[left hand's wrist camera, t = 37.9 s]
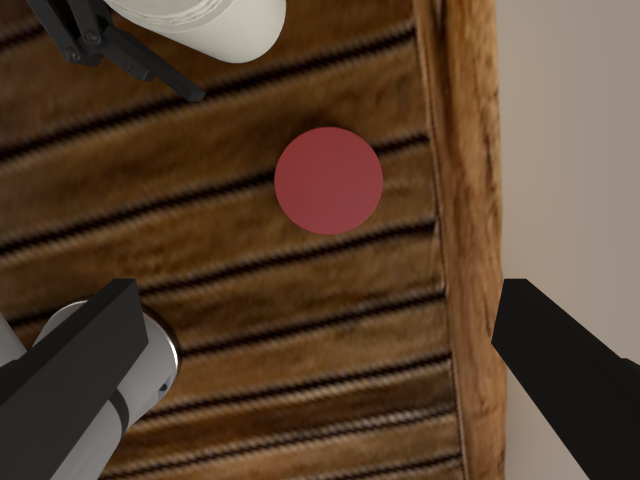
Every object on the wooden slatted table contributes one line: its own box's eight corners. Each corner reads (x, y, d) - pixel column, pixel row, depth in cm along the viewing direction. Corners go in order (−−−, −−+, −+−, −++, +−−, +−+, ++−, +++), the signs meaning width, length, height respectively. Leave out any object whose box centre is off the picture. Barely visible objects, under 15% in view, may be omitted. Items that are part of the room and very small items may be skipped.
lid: (345, 103, 32) (346, 103, 30) (398, 196, 35) (402, 200, 33) (255, 164, 34) (252, 167, 32) (313, 246, 37) (312, 252, 35)
